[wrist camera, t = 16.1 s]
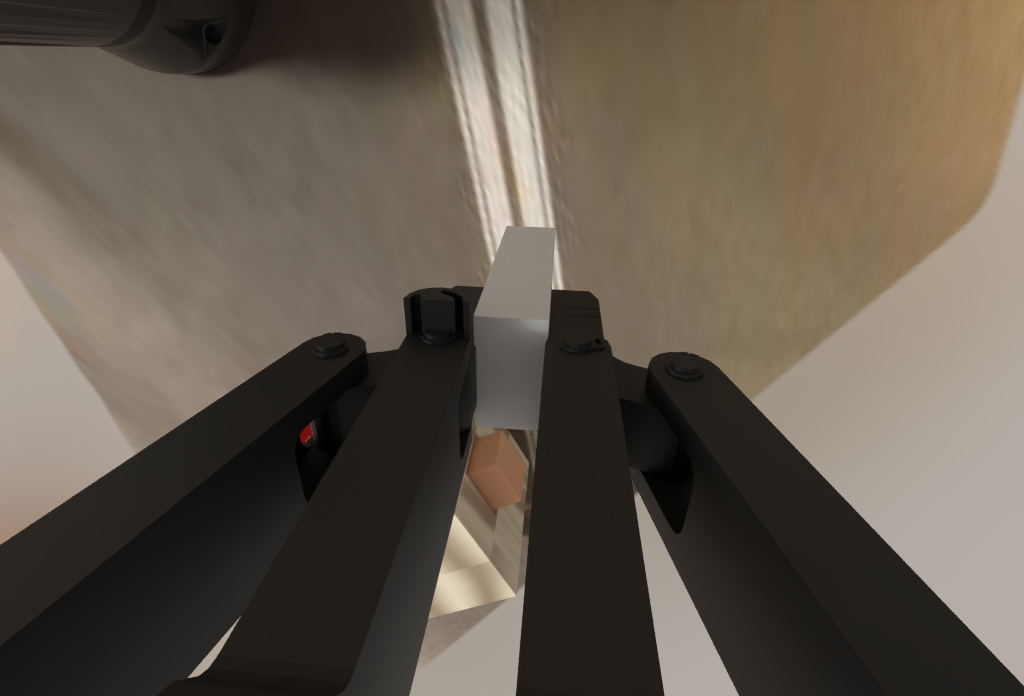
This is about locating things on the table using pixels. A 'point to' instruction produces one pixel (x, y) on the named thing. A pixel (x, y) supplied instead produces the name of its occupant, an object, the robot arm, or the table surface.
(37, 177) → the table surface
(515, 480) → the button
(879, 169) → the table surface
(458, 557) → the stand
